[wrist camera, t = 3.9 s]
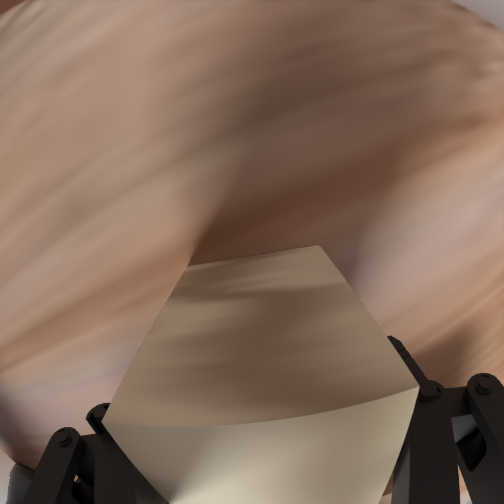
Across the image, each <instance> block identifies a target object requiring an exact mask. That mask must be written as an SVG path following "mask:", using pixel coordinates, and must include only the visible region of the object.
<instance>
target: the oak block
mask: <svg viewBox="0 0 504 504" xmlns="http://www.w3.org/2000/svg"><path fill="white" fill-rule="evenodd" d="M419 387H420V386H419V384H418V383H417V381H416V380H415V378H414V376H413V375H412V373H411V372H410V370H409V369H408V367H407V366H406V364H405V363H404V361H403V360H402V358H401V357H400V355H399V354H398V352H397V351H396V349H395V348H394V346H393V345H392V343H391V342H390V341H389V339H388V338H387V336H386V335H385V333H384V332H383V330H382V329H381V328H380V326H379V325H378V323H377V322H376V321H375V319H374V318H373V316H372V315H371V313H370V312H369V311H368V309H367V308H366V307H365V305H364V304H363V302H362V301H361V300H360V298H359V297H358V296H357V294H356V293H355V291H354V290H353V289H352V287H351V286H350V285H349V283H348V282H347V281H346V279H345V278H344V277H343V275H342V274H341V273H340V271H339V270H338V269H337V267H336V266H335V265H334V263H333V262H332V261H331V260H330V258H329V257H328V256H327V254H326V253H325V252H324V250H323V249H322V248H321V247H320V245H316V246H309V247H303V248H297V249H291V250H285V251H279V252H273V253H266V254H260V255H254V256H248V257H242V258H235V259H229V260H223V261H217V262H211V263H204V264H198V265H192V266H187V268H186V270H185V271H184V273H183V275H182V276H181V278H180V280H179V281H178V283H177V285H176V286H175V288H174V290H173V292H172V293H171V295H170V297H169V298H168V300H167V302H166V303H165V305H164V307H163V309H162V310H161V312H160V314H159V316H158V317H157V319H156V321H155V323H154V324H153V326H152V328H151V330H150V331H149V333H148V335H147V337H146V339H145V340H144V342H143V344H142V346H141V347H140V349H139V351H138V353H137V355H136V357H135V358H134V360H133V362H132V364H131V366H130V368H129V369H128V371H127V373H126V375H125V377H124V379H123V381H122V383H121V385H120V386H119V388H118V390H117V392H116V394H115V396H114V398H113V400H112V402H111V404H110V406H109V408H108V410H107V412H106V414H105V416H104V418H103V420H102V423H103V425H104V426H105V428H106V429H107V430H108V432H109V433H110V435H111V436H112V437H113V439H114V440H115V441H116V443H117V444H118V445H119V447H120V448H121V449H122V451H123V452H124V453H125V454H126V456H127V457H128V458H129V459H130V461H131V462H132V463H133V464H134V465H135V467H136V468H137V469H138V470H139V471H140V473H141V474H142V475H143V476H144V477H145V478H146V479H147V481H148V482H149V483H150V484H151V485H152V486H153V487H154V488H155V489H156V490H157V491H158V492H159V493H160V494H161V496H162V497H163V498H164V499H165V500H166V501H167V502H168V503H169V504H378V503H379V501H380V499H381V497H382V494H383V492H384V490H385V488H386V486H387V483H388V481H389V479H390V476H391V474H392V471H393V469H394V466H395V464H396V461H397V459H398V456H399V453H400V450H401V448H402V445H403V442H404V439H405V436H406V433H407V430H408V427H409V423H410V420H411V417H412V413H413V410H414V406H415V403H416V399H417V395H418V391H419Z"/></svg>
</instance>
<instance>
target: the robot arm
mask: <svg viewBox="0 0 504 504" xmlns="http://www.w3.org/2000/svg"><path fill="white" fill-rule="evenodd" d="M387 338H388V339H389V341H390V342H391V343H392V345H393V346H394V348H395V349H396V351H397V352H398V354H399V355H400V357H401V358H402V360H403V361H404V363H405V364H406V366H407V367H408V369H409V370H410V372H411V373H412V375H413V376H414V378H415V380H416V381H417V383H418V384H419V386H420V387H419V391H418V395H417V399H416V403H415V406H414V410H413V413H412V417H411V420H410V423H409V427H408V430H407V433H406V436H405V439H404V442H403V445H402V448H401V450H400V453H399V456H398V459H397V461H396V464H395V466H394V472H393V486H392V498H391V504H460V489H459V474H458V466H459V468H460V471H461V474H462V476H463V479H464V481H465V484H466V487H467V490H468V492H469V495H470V498H471V501H472V504H504V386H503V385H502V384H501V382H500V381H499V380H498V379H497V378H496V377H495V376H493V375H491V374H488V373H479V374H476V375H474V376H472V377H471V378H470V380H469V381H468V383H467V386H465V387H457V388H444V387H443V386H442V385H441V384H439V383H438V382H435V381H432V380H428V379H427V378H426V377H425V375H424V374H423V372H422V371H421V369H420V368H419V367H418V365H417V364H416V362H415V361H414V359H413V358H412V357H411V355H410V354H409V352H408V351H406V348H405V347H404V346H403V344H402V343H401V341H399V340H397V339H396V338H394V337H392V336H387ZM110 404H111V403H103V404H100V405H97V406H96V407H94V408H92V409H91V410H90V411H89V413H88V414H87V416H86V420H87V421H88V423H89V424H90V426H91V427H92V428H93V430H94V431H95V433H96V434H90V435H83V436H81V435H80V434H79V433H78V432H77V431H76V430H75V429H74V428H71V427H64V428H61V429H59V430H58V431H56V432H55V433H54V434H53V435H52V437H51V439H50V441H49V443H48V445H47V447H46V449H45V451H44V453H43V455H42V458H41V460H40V462H39V464H38V466H37V469H36V471H35V472H34V471H32V470H31V469H29V468H27V467H24V466H22V465H19V464H15V465H14V467H13V468H12V470H11V472H10V481H9V487H8V497H7V502H6V504H167V503H166V500H165V499H164V498H163V497H162V496H161V494H160V493H159V492H158V491H157V490H156V489H155V488H154V487H153V486H152V485H151V484H150V483H149V482H148V481H147V479H146V478H145V477H144V476H143V475H142V474H141V473H140V471H139V470H138V469H137V468H136V467H135V465H134V464H133V463H132V462H131V461H130V459H129V458H128V457H127V456H126V454H125V453H124V452H123V451H122V449H121V448H120V447H119V445H118V444H117V443H116V441H115V440H114V439H113V437H112V436H111V435H110V433H109V432H108V430H107V429H106V428H105V426H104V425H103V423H102V420H103V418H104V416H105V414H106V412H107V410H108V408H109V406H110ZM76 475H77V476H78V479H77V480H76V481H74V479H75V476H76Z"/></svg>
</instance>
